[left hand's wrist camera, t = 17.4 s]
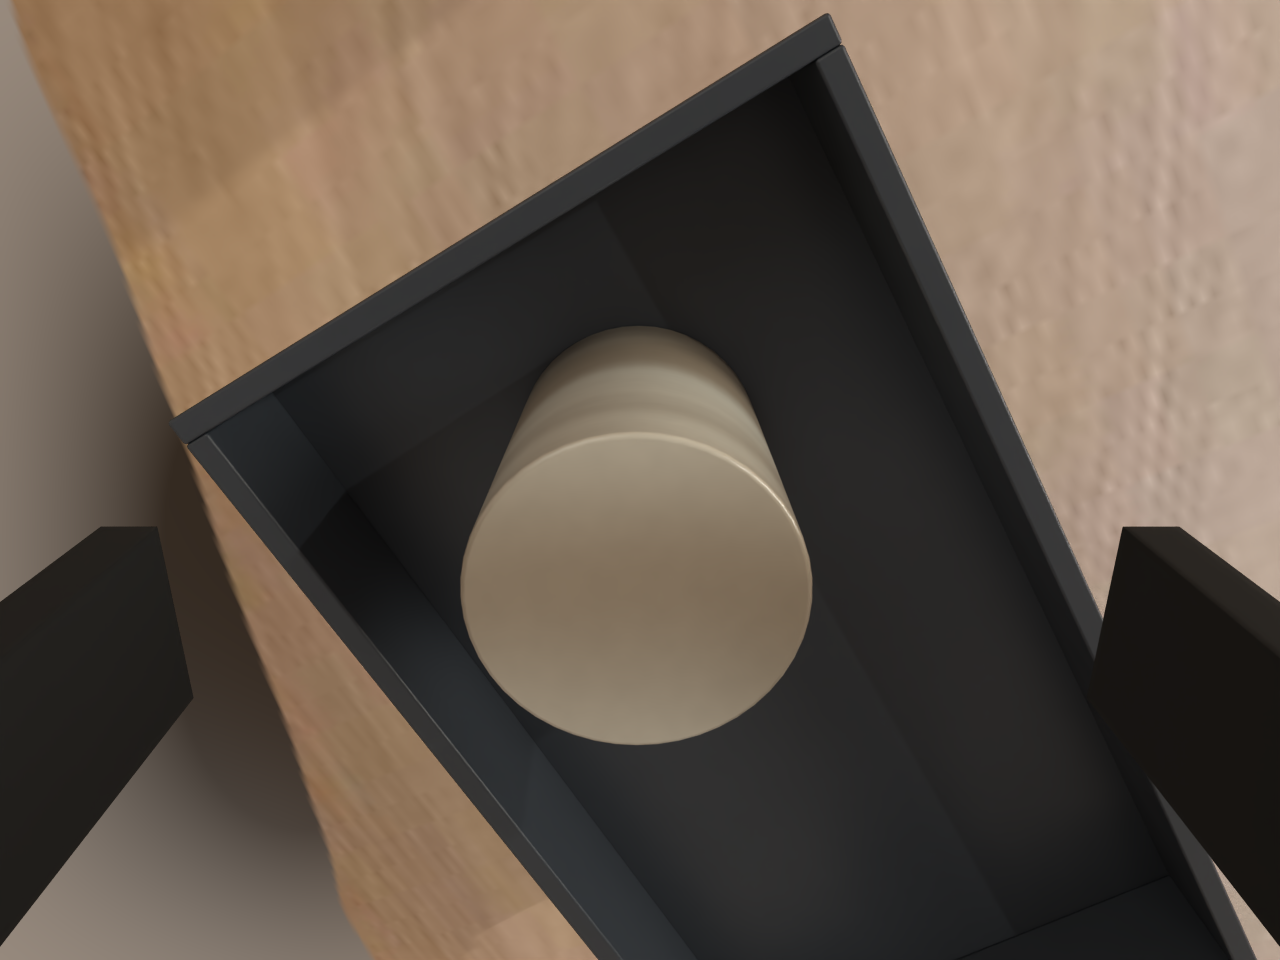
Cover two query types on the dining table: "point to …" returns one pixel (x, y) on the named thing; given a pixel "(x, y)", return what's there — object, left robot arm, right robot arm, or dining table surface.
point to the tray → (834, 537)
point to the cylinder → (637, 546)
